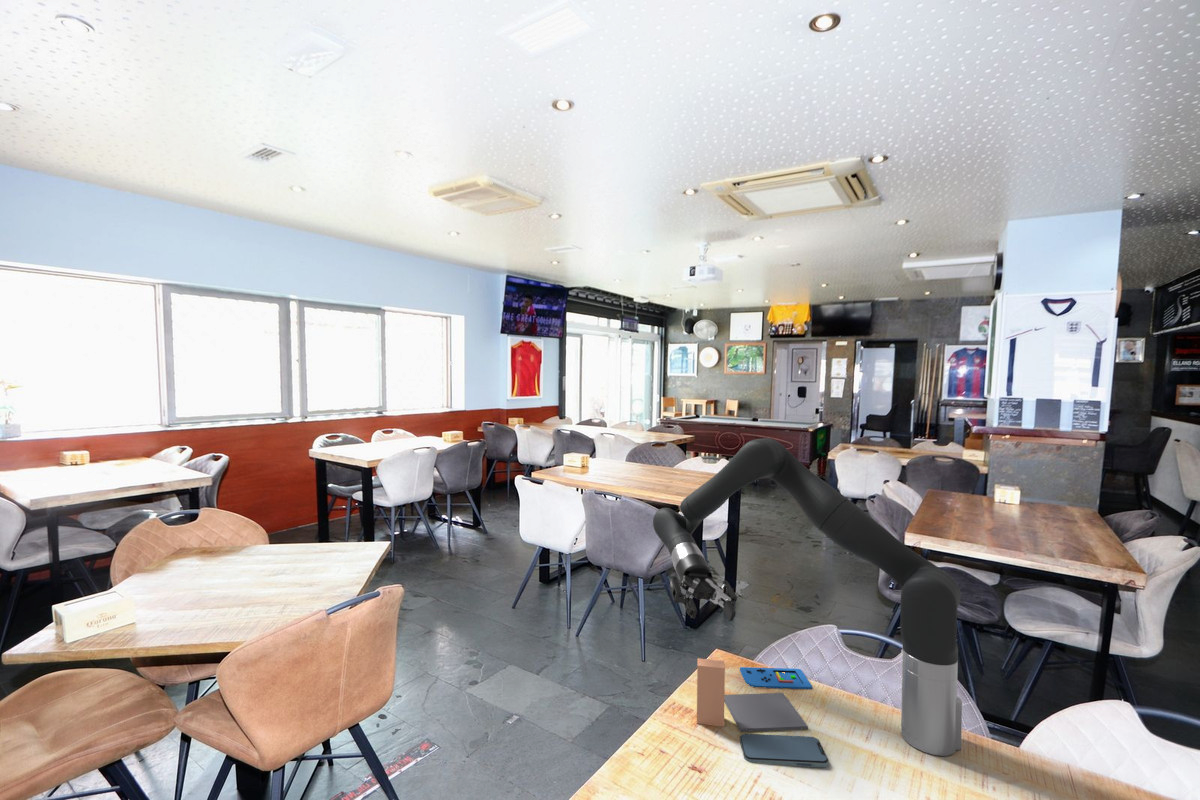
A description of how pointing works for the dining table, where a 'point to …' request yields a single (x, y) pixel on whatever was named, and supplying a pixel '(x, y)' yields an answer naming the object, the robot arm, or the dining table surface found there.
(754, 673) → the handheld gaming device
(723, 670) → the tan rectangular block
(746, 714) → the rubber mat
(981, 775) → the dining table surface
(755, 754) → the smartphone
